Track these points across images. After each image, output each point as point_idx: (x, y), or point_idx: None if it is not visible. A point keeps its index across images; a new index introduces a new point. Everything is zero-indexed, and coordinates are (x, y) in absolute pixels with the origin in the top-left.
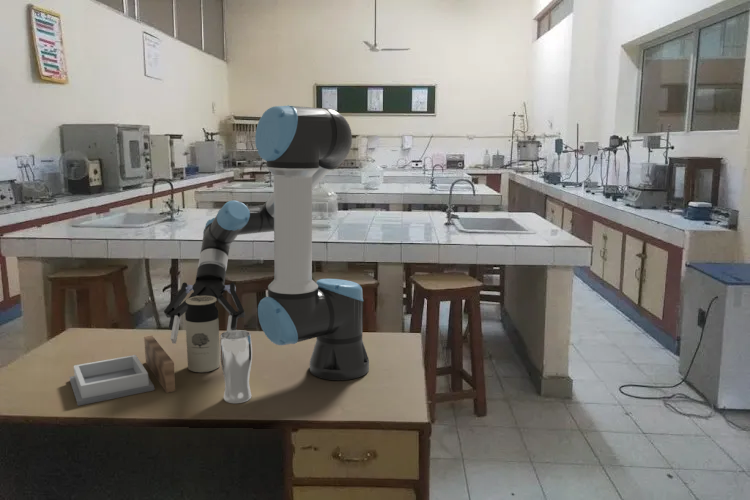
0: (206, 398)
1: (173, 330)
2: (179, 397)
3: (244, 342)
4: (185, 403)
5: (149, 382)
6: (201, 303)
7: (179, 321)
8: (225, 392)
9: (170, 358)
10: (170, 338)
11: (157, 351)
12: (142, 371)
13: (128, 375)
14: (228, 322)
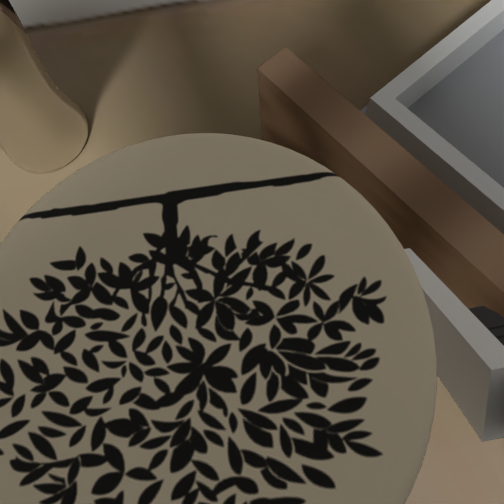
0: (142, 116)
1: (426, 278)
2: (228, 107)
3: None
4: (192, 77)
5: None
6: (111, 154)
7: (472, 415)
8: (66, 96)
9: (294, 100)
10: (410, 249)
11: (411, 166)
12: (403, 108)
13: (431, 67)
14: None
